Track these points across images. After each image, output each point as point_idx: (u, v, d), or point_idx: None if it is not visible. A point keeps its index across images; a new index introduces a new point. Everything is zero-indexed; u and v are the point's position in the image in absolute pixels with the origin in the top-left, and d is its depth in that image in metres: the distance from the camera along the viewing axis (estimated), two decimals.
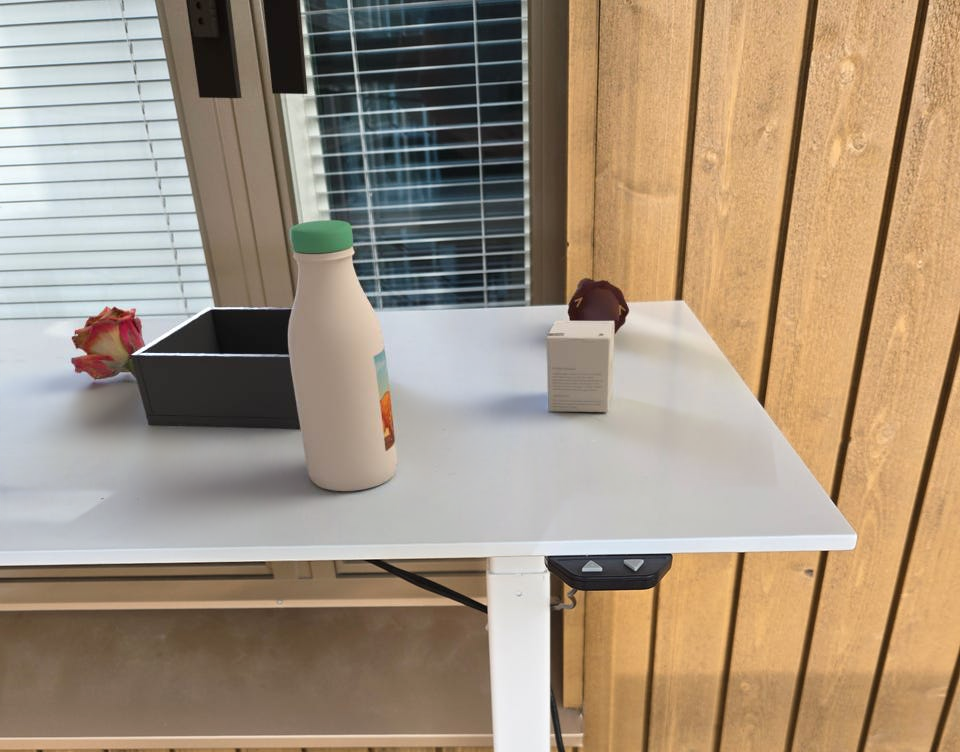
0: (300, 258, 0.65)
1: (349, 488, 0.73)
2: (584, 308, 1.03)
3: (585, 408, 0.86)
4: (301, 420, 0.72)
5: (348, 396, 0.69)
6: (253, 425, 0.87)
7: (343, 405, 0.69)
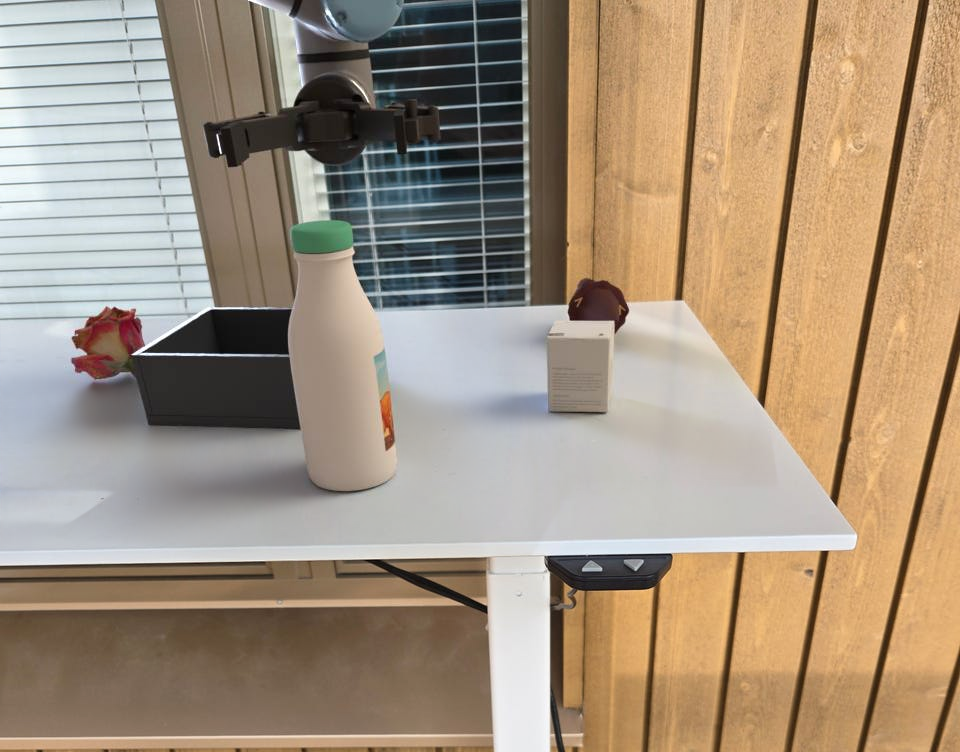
0: (300, 258, 0.65)
1: (349, 488, 0.73)
2: (584, 308, 1.03)
3: (585, 408, 0.86)
4: (301, 420, 0.72)
5: (349, 396, 0.69)
6: (253, 425, 0.87)
7: (343, 405, 0.69)
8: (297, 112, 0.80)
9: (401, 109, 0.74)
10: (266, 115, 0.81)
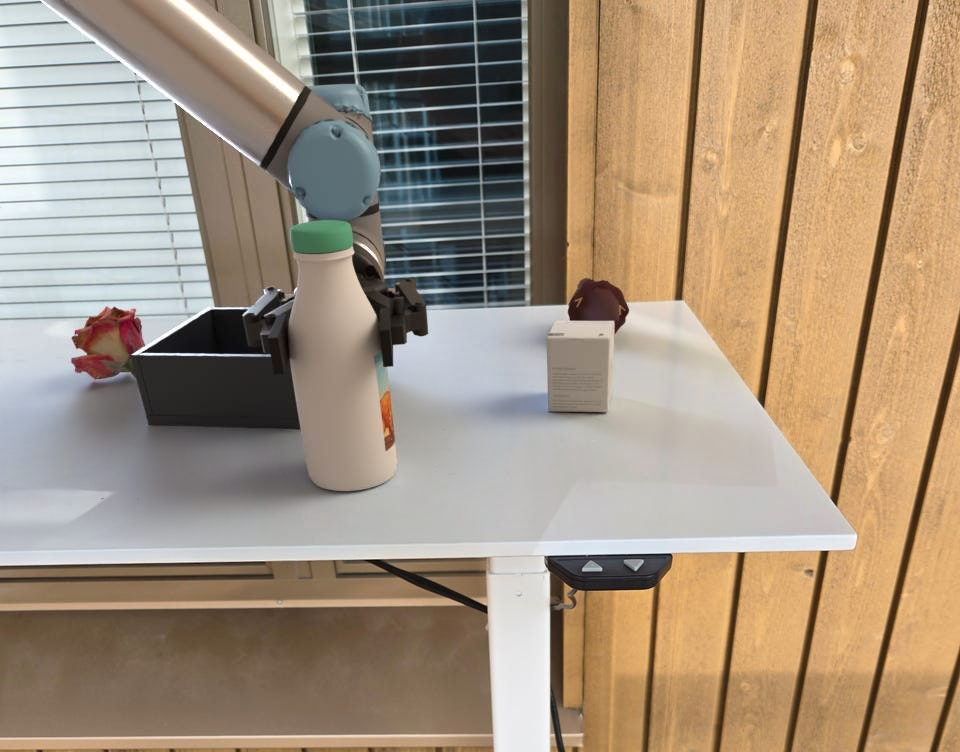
0: (300, 258, 0.65)
1: (349, 488, 0.73)
2: (585, 308, 1.03)
3: (585, 408, 0.86)
4: (301, 420, 0.72)
5: (348, 396, 0.69)
6: (253, 425, 0.87)
7: (343, 405, 0.69)
8: None
9: (387, 309, 0.70)
10: (280, 292, 0.78)
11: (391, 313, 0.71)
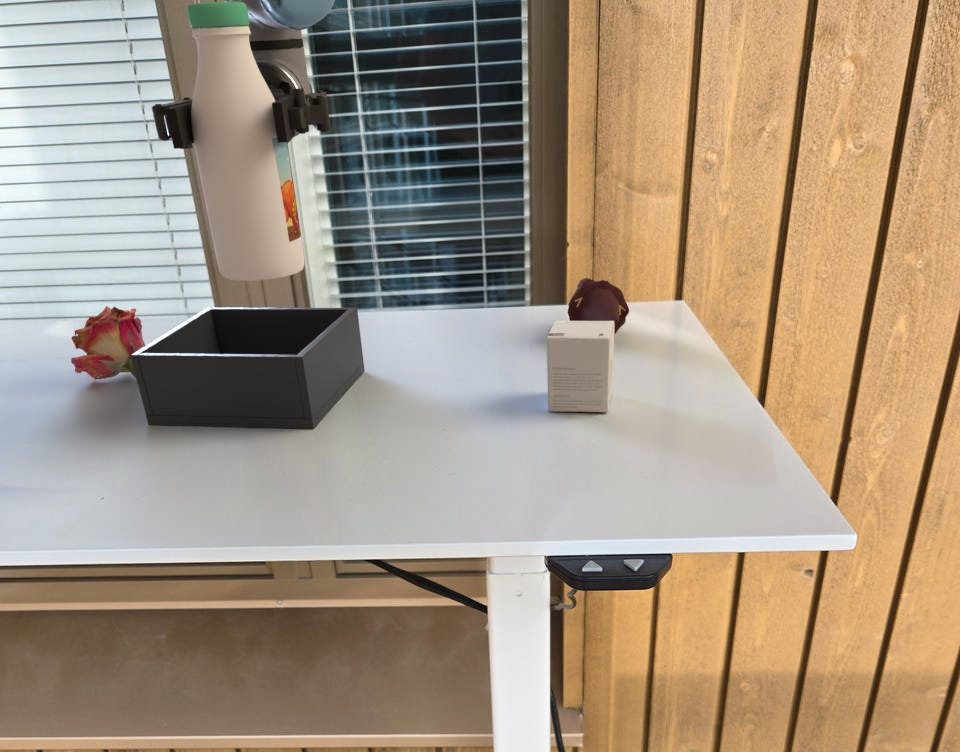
0: (197, 34, 0.69)
1: (254, 277, 0.77)
2: (584, 308, 1.03)
3: (585, 408, 0.86)
4: (207, 208, 0.76)
5: (248, 177, 0.73)
6: (253, 425, 0.87)
7: (243, 186, 0.73)
8: None
9: (287, 98, 0.74)
10: None
11: (292, 104, 0.75)
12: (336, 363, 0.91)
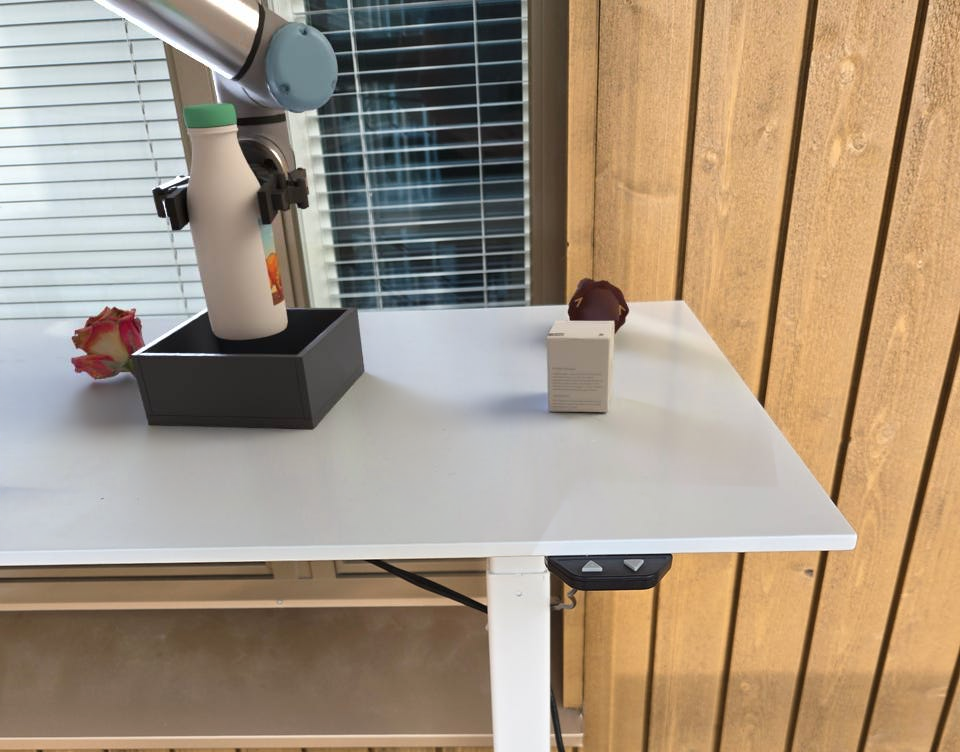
0: (191, 132, 0.79)
1: (243, 337, 0.88)
2: (585, 308, 1.03)
3: (585, 408, 0.86)
4: (201, 278, 0.86)
5: (237, 253, 0.83)
6: (253, 425, 0.87)
7: (233, 260, 0.84)
8: None
9: (270, 182, 0.85)
10: None
11: (275, 187, 0.85)
12: (336, 363, 0.91)
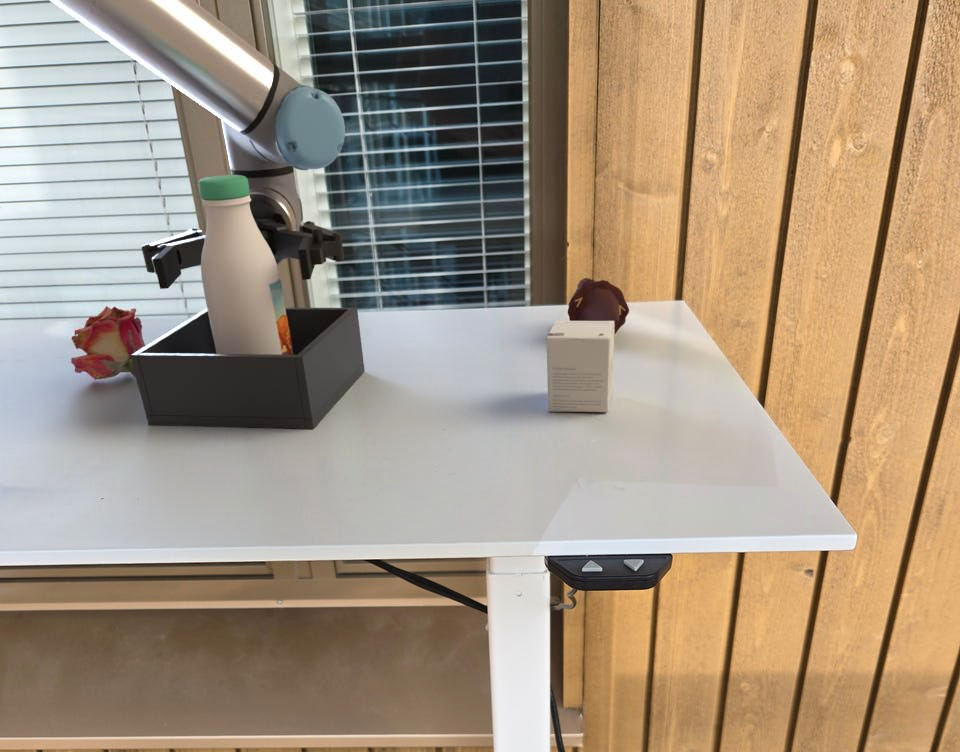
0: (206, 204, 0.83)
1: None
2: (585, 308, 1.03)
3: (585, 408, 0.86)
4: (214, 338, 0.90)
5: (249, 317, 0.87)
6: (253, 425, 0.87)
7: (245, 324, 0.87)
8: None
9: (308, 237, 0.89)
10: (198, 232, 0.96)
11: (314, 241, 0.90)
12: (336, 363, 0.91)
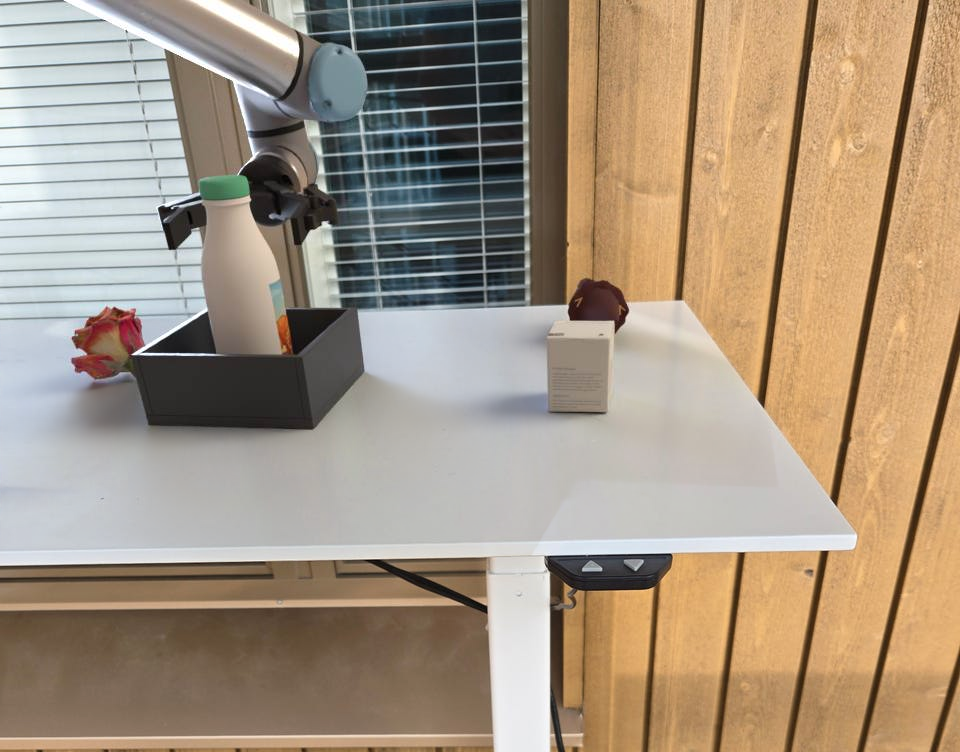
0: (206, 204, 0.83)
1: None
2: (585, 308, 1.03)
3: (585, 408, 0.86)
4: (214, 338, 0.90)
5: (249, 317, 0.87)
6: (253, 425, 0.87)
7: (245, 324, 0.87)
8: None
9: (305, 203, 0.97)
10: None
11: (310, 207, 0.98)
12: (336, 363, 0.91)
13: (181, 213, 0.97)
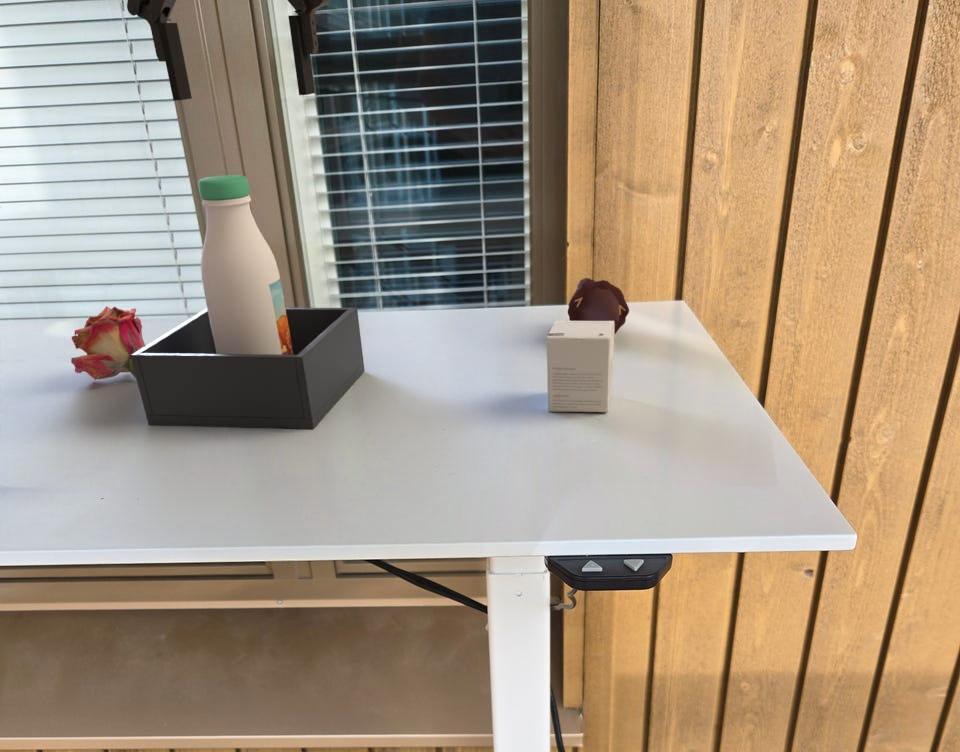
0: (206, 204, 0.83)
1: None
2: (585, 308, 1.03)
3: (585, 408, 0.86)
4: (214, 338, 0.90)
5: (249, 317, 0.87)
6: (253, 425, 0.87)
7: (245, 324, 0.87)
8: None
9: (294, 20, 0.85)
10: None
11: (299, 12, 0.85)
12: (336, 363, 0.91)
13: (170, 46, 0.88)
